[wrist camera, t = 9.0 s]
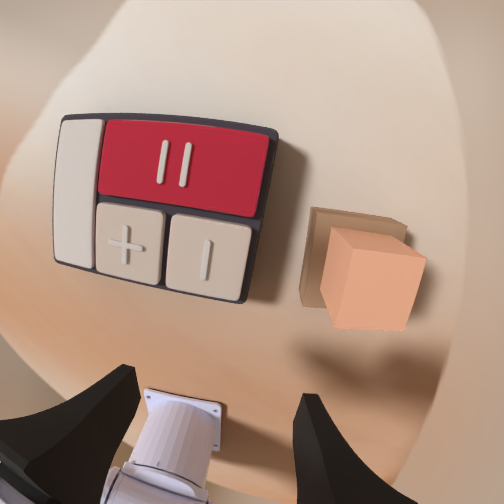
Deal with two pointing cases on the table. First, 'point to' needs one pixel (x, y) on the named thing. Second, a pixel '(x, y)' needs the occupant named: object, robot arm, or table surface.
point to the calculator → (162, 200)
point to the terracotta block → (370, 280)
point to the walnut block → (319, 243)
